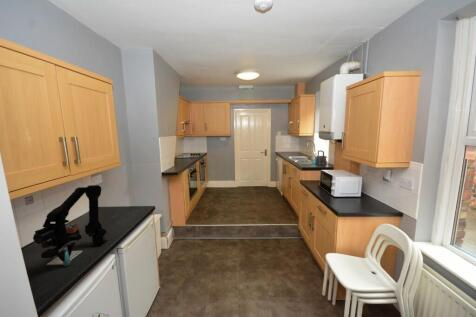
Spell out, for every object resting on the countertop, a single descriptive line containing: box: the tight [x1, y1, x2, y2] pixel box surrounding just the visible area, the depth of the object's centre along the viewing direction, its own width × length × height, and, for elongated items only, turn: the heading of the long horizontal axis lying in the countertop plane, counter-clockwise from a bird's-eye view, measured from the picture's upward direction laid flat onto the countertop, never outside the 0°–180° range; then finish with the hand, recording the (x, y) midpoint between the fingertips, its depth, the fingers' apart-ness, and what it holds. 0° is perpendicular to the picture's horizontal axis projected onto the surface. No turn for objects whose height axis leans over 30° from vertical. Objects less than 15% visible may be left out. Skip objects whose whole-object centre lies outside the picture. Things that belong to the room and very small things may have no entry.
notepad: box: [46, 250, 83, 266], centre depth 119 cm, size 12×11×1 cm
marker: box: [62, 246, 71, 267], centre depth 110 cm, size 3×3×10 cm
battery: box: [66, 223, 81, 242], centre depth 141 cm, size 4×7×10 cm, turn 16°
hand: (66, 259), depth 111 cm, fingers closed on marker, 3 cm apart
